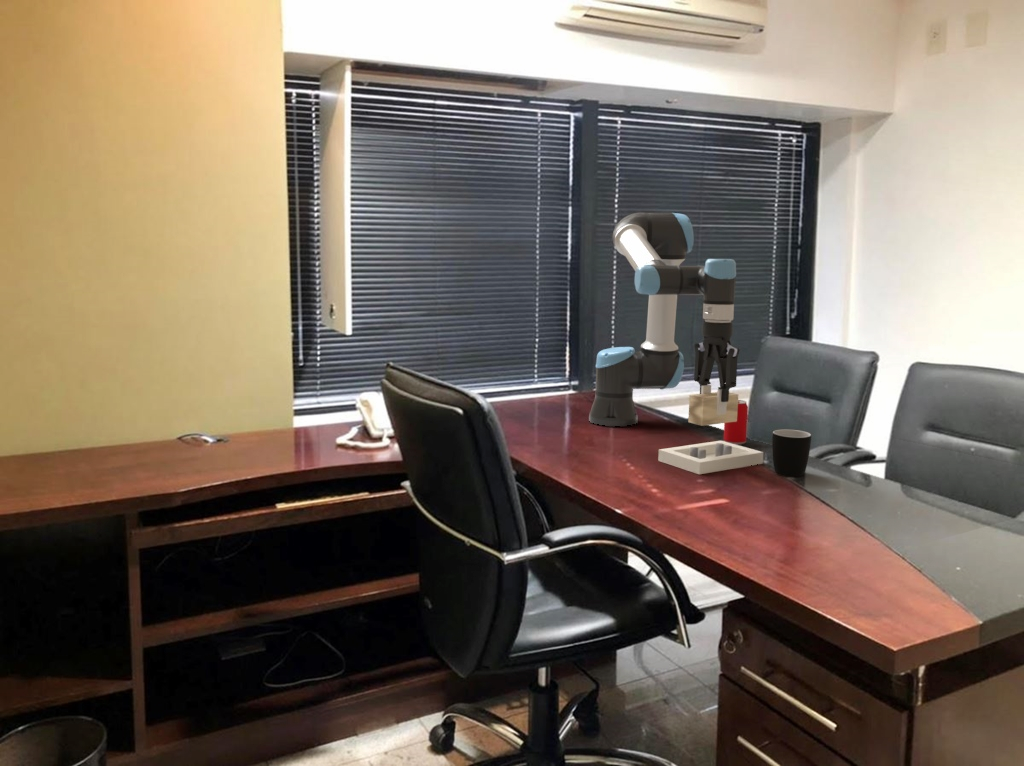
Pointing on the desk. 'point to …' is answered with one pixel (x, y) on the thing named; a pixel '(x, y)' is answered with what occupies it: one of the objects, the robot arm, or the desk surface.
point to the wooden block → (711, 409)
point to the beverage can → (737, 426)
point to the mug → (790, 451)
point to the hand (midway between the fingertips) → (713, 412)
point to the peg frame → (710, 457)
